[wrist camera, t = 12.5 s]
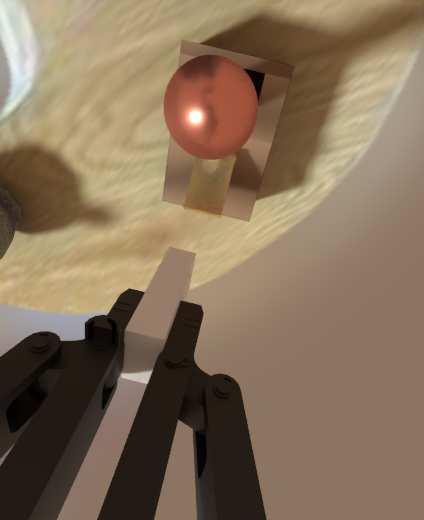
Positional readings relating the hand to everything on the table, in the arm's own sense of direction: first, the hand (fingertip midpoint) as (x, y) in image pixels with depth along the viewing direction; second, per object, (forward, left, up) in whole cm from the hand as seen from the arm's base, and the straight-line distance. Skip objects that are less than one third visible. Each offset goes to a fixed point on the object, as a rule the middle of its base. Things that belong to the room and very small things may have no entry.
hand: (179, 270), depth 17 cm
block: (-5, 0, -16) cm, 17 cm away
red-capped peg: (-8, 0, -16) cm, 18 cm away
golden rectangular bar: (-2, 0, -10) cm, 10 cm away
